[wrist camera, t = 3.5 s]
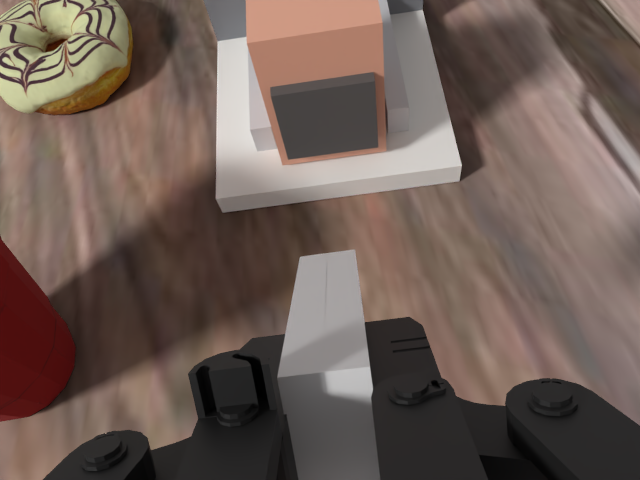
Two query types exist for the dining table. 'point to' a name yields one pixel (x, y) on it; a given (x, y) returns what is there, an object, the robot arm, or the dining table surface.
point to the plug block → (320, 75)
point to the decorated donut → (63, 54)
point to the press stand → (337, 173)
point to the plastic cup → (29, 343)
